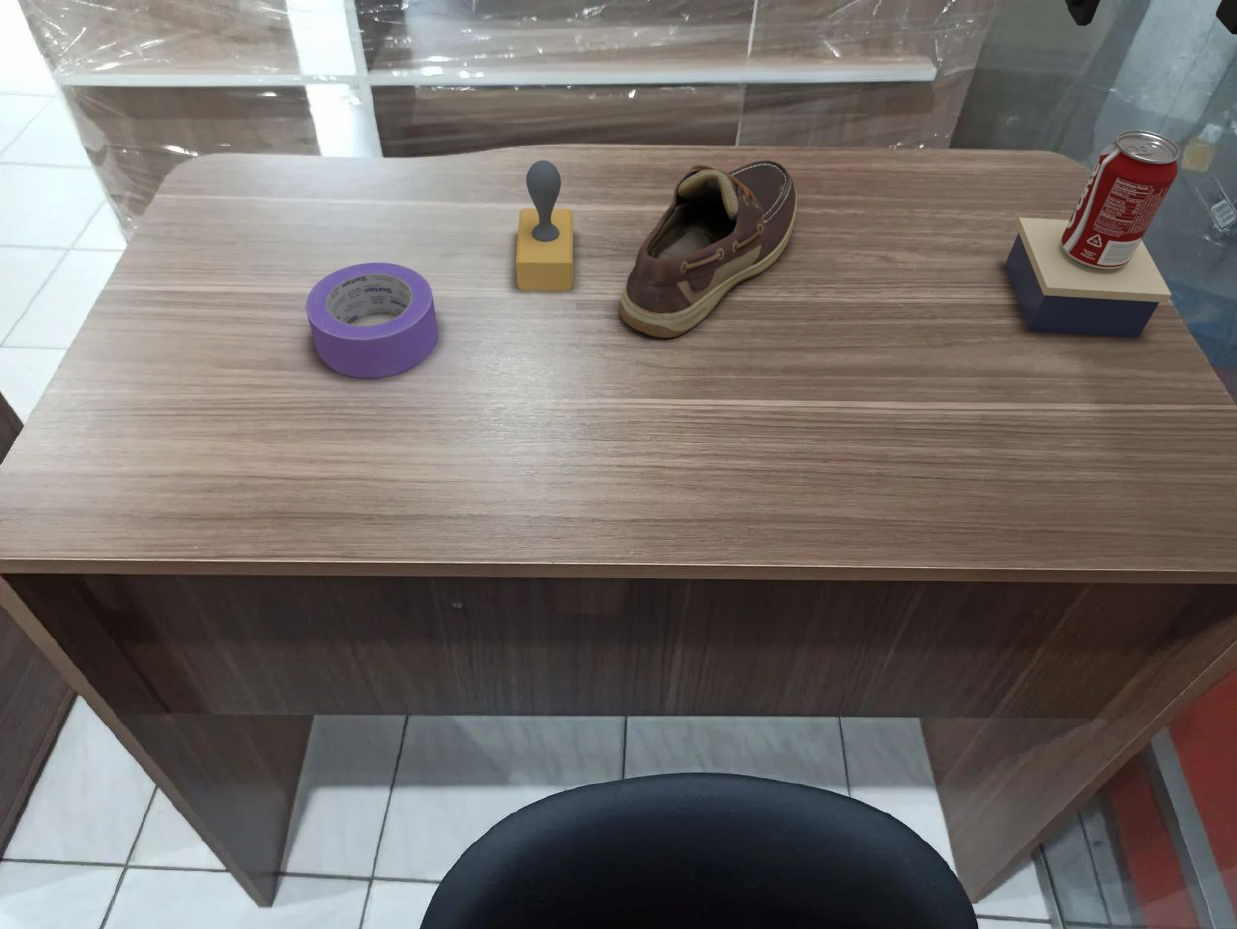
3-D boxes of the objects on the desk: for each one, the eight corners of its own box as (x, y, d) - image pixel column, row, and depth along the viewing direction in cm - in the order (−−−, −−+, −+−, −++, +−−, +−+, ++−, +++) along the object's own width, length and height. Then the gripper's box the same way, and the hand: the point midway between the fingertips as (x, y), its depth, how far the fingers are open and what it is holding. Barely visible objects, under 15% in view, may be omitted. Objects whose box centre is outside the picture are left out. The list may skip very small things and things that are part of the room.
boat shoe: (741, 185, 109) (754, 98, 101) (822, 218, 105) (843, 130, 97) (588, 313, 92) (589, 221, 84) (678, 357, 88) (687, 265, 80)
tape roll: (411, 288, 94) (404, 248, 91) (457, 354, 88) (452, 313, 84) (300, 323, 90) (288, 283, 86) (340, 395, 84) (328, 355, 80)
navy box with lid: (1108, 270, 100) (1133, 223, 95) (1143, 341, 92) (1172, 294, 87) (999, 263, 100) (1018, 216, 95) (1024, 334, 92) (1047, 287, 88)
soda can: (1137, 275, 89) (1199, 165, 80) (1069, 273, 89) (1124, 163, 80) (1114, 235, 94) (1170, 127, 85) (1049, 233, 94) (1098, 124, 85)
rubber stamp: (572, 291, 95) (571, 190, 86) (517, 291, 94) (510, 189, 85) (573, 236, 101) (572, 136, 92) (521, 235, 101) (515, 135, 92)
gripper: (1158, -317, 44) (1031, 38, 57) (1523, -302, 43) (1312, 54, 56) (1114, -340, 49) (1007, -9, 62) (1442, -327, 48) (1264, 6, 61)
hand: (1152, 21), depth 59 cm, fingers open, 9 cm apart
